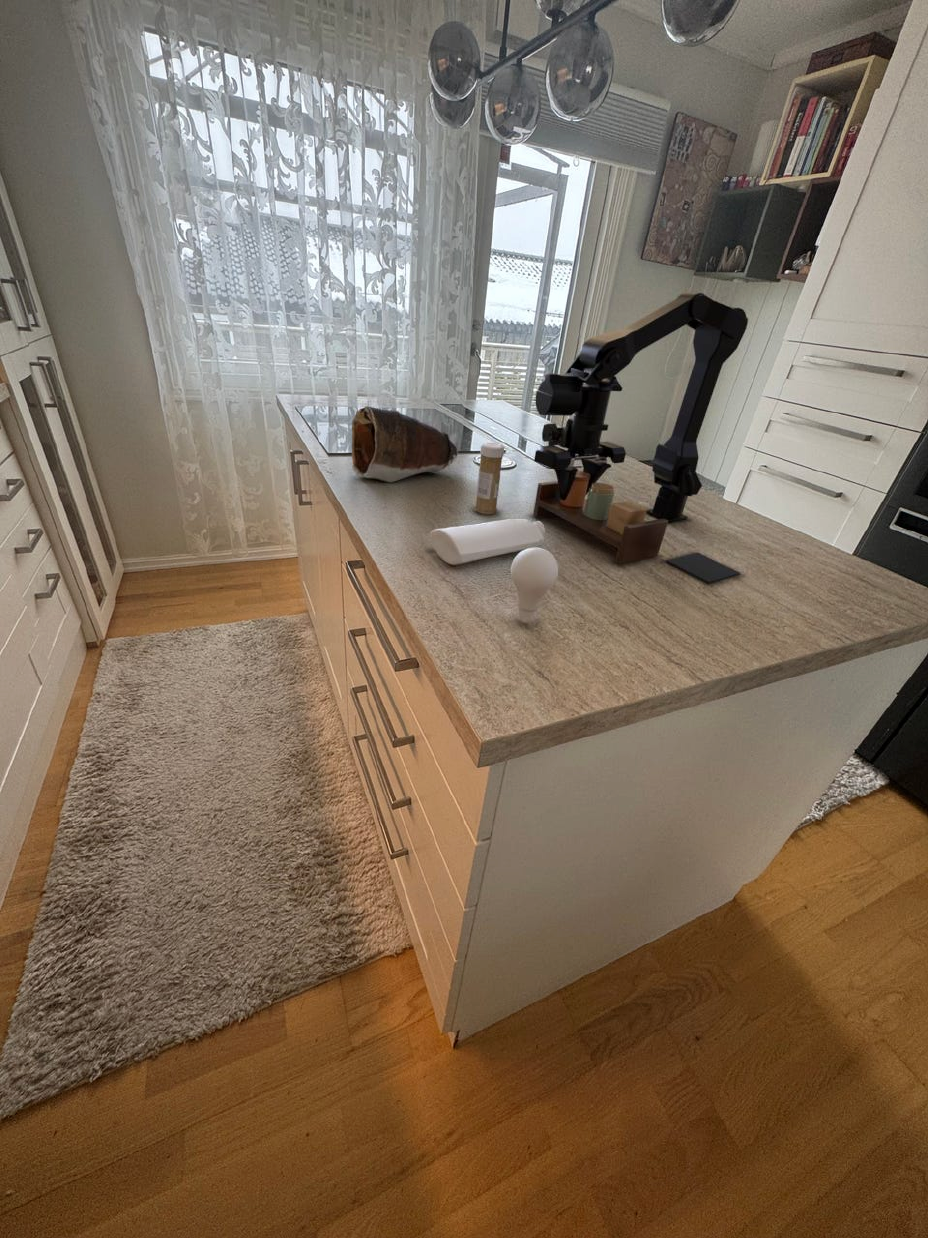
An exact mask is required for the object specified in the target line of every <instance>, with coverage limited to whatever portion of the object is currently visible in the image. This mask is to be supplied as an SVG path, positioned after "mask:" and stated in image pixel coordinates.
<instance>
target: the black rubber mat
mask: <svg viewBox="0 0 928 1238" xmlns="http://www.w3.org/2000/svg"><path fill="white" fill-rule="evenodd" d="M665 563H666V564H669V565H671V566H672V567H674V568H677V569H678V570H680V571H682V572H684V573H686V574H688V575H689V576H691V577H694V578H695V579H698V580H700V581H701V582H703V583H705V584H707V585H711V584H714V583H717V582H720V581H723V580H728V579H730V578H733V577H736V576H740V575H741V572H740V571H738V570H736V569H733V568H731V567H729V566H728V565H725V564H722V563H721V562H718V561H717V560H715V559H712V558H710V557H708V556H705V555H704V554H703V553H699V552H694V553H690V554H686V555H681V556H677V557H674V558H669V559H666V560H665Z"/></svg>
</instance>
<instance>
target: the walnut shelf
mask: <svg viewBox="0 0 928 1238" xmlns="http://www.w3.org/2000/svg"><path fill="white" fill-rule="evenodd" d="M586 502H587V498H585V500H584V504H583V506H582V507H569V506H565V505H563V504H561V503H560V493H559V487H558V480H555V481H546V482H539V483H538V484H537V488H536V495H535V501H534V506H533V514H532V517H533V518H535V519H540V518H541V519H542V518H546V517H553V516H554V517H555V516H557V517H560V518H562V519H563V520H565V521H567V522H569V523H571V524H573V525H575V526H576V527H578V528H581V530H584V531H586V532H588V533H590V534H592V535H593V536H595V537H597V538H599V539H601V540H602V541H605V542H606V543H608V544H610V545H612V546H614V547H616V548H617V549H618V550H617V553H616V557H615V561H614V563H615V564H616V565H618V566H623V565H627V564H631V563H636V562H640V561H643V560H648V559H653V558H657V557H658V555H659V552H660V549H661V546H662V543H663V540H664V536H665V534H666V530H667V527H668V524H669V522H668V520H666V519H664V518H663V519H660V518H657V519H653V520H648V521H643V522H642V523H636V524H631V525H626V526H625V527H624V531H623V534H620V533H618V532H616V531H614V530H612V529H610V528H608V527H606V525H607V521H608V519H606V520H594V519H591V518H588V517H586V516H585V515H584V511H585V507H586ZM609 513H610V512H609ZM608 517H609V516H608Z"/></svg>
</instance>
